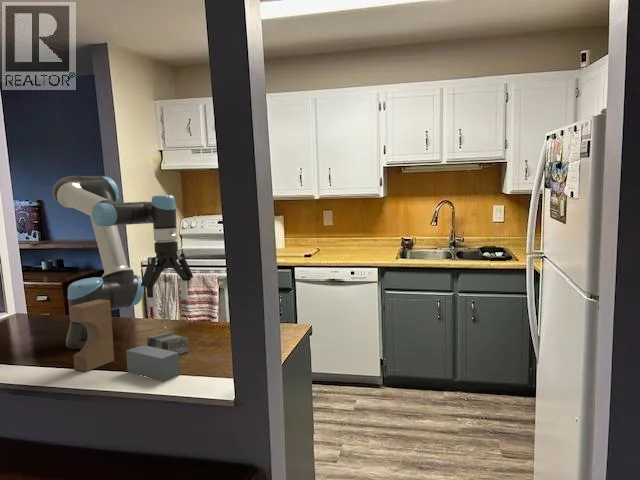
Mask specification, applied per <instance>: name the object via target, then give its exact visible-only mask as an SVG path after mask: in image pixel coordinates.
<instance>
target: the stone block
mask: <svg viewBox="0 0 640 480" xmlns="http://www.w3.org/2000/svg"><path fill="white" fill-rule="evenodd" d="M146 341H147V343H146V344H147V345H146V346H150V347H155V348H159V349H164V350H169V351H174V352H178V353H179V356H180V355H183V354H186V353H189V352H191V348H190V346H189V345H190V344H189V338H188V337H185V336H181V335H177V334H175V333H171V332H164V333H157V334H154V335H150V336H146Z"/></svg>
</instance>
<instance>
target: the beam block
mask: <svg viewBox="0 0 640 480" xmlns="http://www.w3.org/2000/svg"><path fill="white" fill-rule="evenodd" d="M125 352H126V367H127V368H126V369H127V373H129V374H133V375H135V374H137V376H139V375H142V376H141V377H143V376H146V377H149V378H148V379H150V378H152V379H151V380H154V379H155V381H159V382H162V383H164V382H167V381H170V380H171V379H174V378H176V377H179V376H180V375H181V373H180V372H181V371H180V355H179V353H178V352H174V351H169V350H164V349H159V348H155V347H150V346H147V345H145V344H143V345H139V346H135V347H132V348H130V349H127V350H125ZM146 377H145V378H146Z"/></svg>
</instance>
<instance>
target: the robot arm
mask: <svg viewBox="0 0 640 480" xmlns="http://www.w3.org/2000/svg"><path fill="white" fill-rule="evenodd" d="M119 195H120V193H119V188H118V185H117V183H116V182H115V180H113V179H112V178H111V177H109V176H102V175H93V176H91V175H68V176H64V177H62V178H60V179H59V180H58V181H56V183H54V185H53V187H52V198H53V199H54V200H55V202H56V203H57V204H59V205H60V206H62V207H64V208H67V209H75V210H77V211H79V212H81V213H84V214H85V215H88V216H89V218H90V220H91V224H92V228H93V233H94V237H95V240H96V244H97V248H98V251H99V253H98V254H99V255H100V259H101V264H102V267H103V271H104V273H103V274H102V275H101V277H100V276H99V277H98V276H97V277H96V276H95V277H94V276H93V277H87V278H83V279H79V280H75V281H73V282H72V283H70V284H69V285H68V287H67V303H68V315H69V316H68V317H70V306H73V305H77V304H82V303H86V302H90V301H94V300H98V299H100V300H109V301H110V306H111V311H113V310H119V309H124V308H129V307H133V306H136V305H138V304H139V303H140V302H141V301H142V299H143V296H144V292H145V289H144V288H146V295H147V296H146V297H147V298H148V302H149V304H148V305H149V307H150V308H157V307H158V306H157V305H158V304H157V289H156V287H155V284H156V283H157V281H158V279H159V278H160V275H161V274H162V272H164V271H165V270H167V269H168V270H169V269H173V270H174V271H175V273H176V274H177V275H178V276H179V277H180V279H181V280H180V285H179V286H180V296H181V297H180V298H181V300H185V301H186V300H189V288H190V286H189V285H190V283H189V281H191V280H192V278H194V275H193V273H192V271H191V268H190V266H189V265H188V261H187V260H186V256H185V255H186V254H185V253H183V252H178V251H179V245H178V244H179V243H178V241H177V240H178V230H177V206H176V199H175V197H174V196H173V195H172V194H171V195H170V194H169V195H166V194H165V195H164V194H163V195H153V196H152V197H151V201H135V202H134V201H131V202H127V201H126V202H119V198H120V197H119ZM141 224H146V225H147V224H152V225H153V227H152V228H153V230H152V231H153V241H155V242H154V243H153V245H154V253H155V254H156V255H155V257H152V256H151V257H150V256H149V257H147V264H146V268H145V270H144V274H143V277H142V278H141V276H140V275H137V274H135V273H134V269H133V268H132V267H129V266H128V262H127V259H126V255H125V251H124V247H123V245H122V240H121V236H120V231H119V229H118V226H124V225H125V226H127V225H130V226H131V225H141ZM87 335H88V333H87V329H86V327H85V326H84V325H83V324H81V323H78V322H71V319H70V318H69V328H68V330H67V334H66V338H65V346H66V347H65V348H67V349H71V350H81V349H82V348H83V347H84V345H85V343H86V341H87Z"/></svg>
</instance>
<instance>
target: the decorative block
mask: <svg viewBox="0 0 640 480" xmlns="http://www.w3.org/2000/svg"><path fill="white" fill-rule="evenodd" d="M70 319H71V322H78V323H81V324H83V325H84V326H85V327H86V329H87V333H88V335H87V341H86V343H85V345H84V347H83V348H82V349H79V350H80V351H78V352H76V353H75V354H73V357H72V358H73V369H74V370H75V371H78V370H81V371H80V372H84V371H87V372H89V370H90V371H93V370H95V369H98V368H100V367H102V366H105V365H107V364H110V363H113V362H114V361H115V351H114V338H113V335H114V334H113V325H112V322H113V321H112V320H113V319H112V310H111V306H110V301H109V300H100V299H98V300H94V301H90V302H86V303H82V304H77V305H73V306H70V316H69V320H70Z"/></svg>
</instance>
